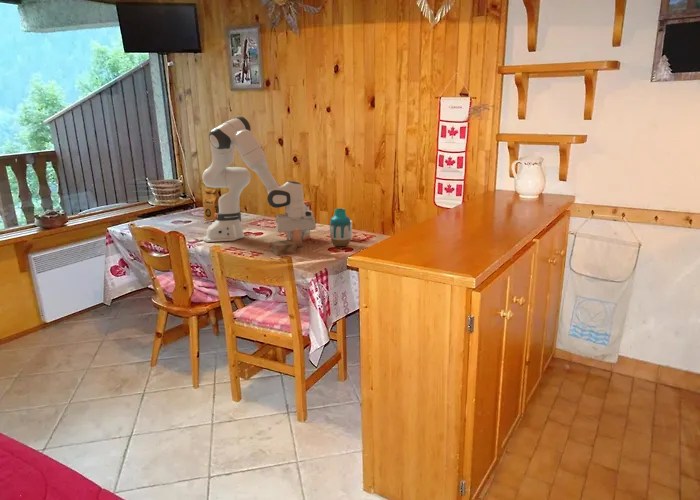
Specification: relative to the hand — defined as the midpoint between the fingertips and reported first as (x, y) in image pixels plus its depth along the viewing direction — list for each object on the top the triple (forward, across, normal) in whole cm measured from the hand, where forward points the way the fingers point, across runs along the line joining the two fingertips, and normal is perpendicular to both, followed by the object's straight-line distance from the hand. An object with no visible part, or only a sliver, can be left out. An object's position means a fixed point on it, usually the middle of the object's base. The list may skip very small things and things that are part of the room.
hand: (296, 239), depth 264 cm
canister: (+4, 0, 0) cm, 4 cm away
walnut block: (+4, -9, -9) cm, 13 cm away
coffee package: (+4, -33, +87) cm, 93 cm away
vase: (+4, +21, -9) cm, 23 cm away
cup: (+4, +26, +4) cm, 27 cm away
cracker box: (+4, +4, +12) cm, 13 cm away
